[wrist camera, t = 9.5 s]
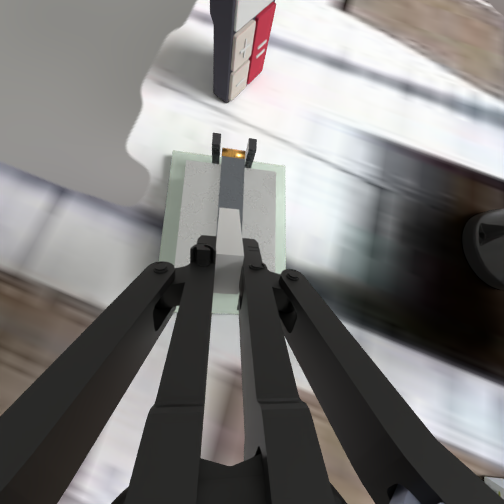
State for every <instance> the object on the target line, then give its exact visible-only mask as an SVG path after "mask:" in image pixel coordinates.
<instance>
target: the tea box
mask: <svg viewBox="0 0 504 504" xmlns="http://www.w3.org/2000/svg"><path fill="white" fill-rule="evenodd" d="M484 482H485V483H486V484H487V485H488V486H489V487H490V488H491V489H492V490H494V491H495V492H496V493H497V494H498V495H499V496H500V497H501V498H503V499H504V479H502V478H493V477H484Z"/></svg>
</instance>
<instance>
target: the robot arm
mask: <svg viewBox="0 0 504 504" xmlns="http://www.w3.org/2000/svg"><path fill="white" fill-rule="evenodd" d="M462 243H463V249H464V253H465V256H466V259H467V261H468V263H469V265H470V266H471V268H472V269H473V271H474V272H475V273H476V275H477V276H478V277H479V278H480V279H481V280H483V281H484V282H485V283H487V284H488V285H490V286H492V287H494V288H496V289H500V290H504V209H495V210H490V211H487V212H484V213H480V214H477V215H475V216H473V217H472V218H470V219H469V220H468V222H467V223H466V225H465V227H464V230H463V235H462ZM213 293H220V294H238V293H239V299H238V305H237V310H239V327H240V347H241V368H242V388H243V408H244V429H245V444H244V461H243V462H241V463H238V464H236V465H234V466H226V465H222V464H219V463H215V462H212V461H208V460H205V459H201V458H200V456H201V443H202V430H203V417H204V405H205V392H206V379H207V367H208V354H209V341H210V328H211V316H212V303H213ZM176 306H179V309H178V313H177V317H176V321H175V325H174V329H173V333H172V337H171V341H170V345H169V350H168V354H167V358H166V362H165V366H164V370H163V374H162V378H161V382H160V386H159V390H158V394H157V398H156V401H155V404H154V405H153V406H152V407H151V409H150V411H149V413H148V417H147V420H146V423H145V427H144V431H143V434H142V438H141V442H140V446H139V450H138V453H137V457H136V461H135V465H134V469H133V472H132V476H131V480H130V484H129V487H127V488H126V489H125V490H124V491H123V492H122V493H121V494H120V495H119V496H118V497H117V498H116V499H115V500H114V501H113V502H112V503H111V504H347V503H346V502H345V500H344V499H343V498H342V496H341V495H340V494H339V493H338V491H337V490H336V489H335V488H334V487H333V485H332V484H331V483H330V482H329V478H328V475H327V471H326V467H325V464H324V460H323V456H322V453H321V449H320V445H319V441H318V438H317V434H316V430H315V427H314V423H313V419H312V416H311V413H310V410H309V408H308V406H307V404H306V403H305V402H303V401H301V399H300V398H299V395H298V391H297V387H296V383H295V379H294V375H293V370H292V366H291V362H290V358H289V354H288V350H287V346H286V342H285V338H286V340H287V342H288V344H289V345H290V347H291V349H292V351H293V353H294V355H295V357H296V359H297V361H298V363H299V365H300V367H301V368H302V370H303V372H304V374H305V376H306V378H307V380H308V382H309V384H310V386H311V388H312V390H313V391H314V393H315V395H316V397H317V399H318V401H319V403H320V405H321V407H322V409H323V411H324V413H325V414H326V416H327V418H328V420H329V422H330V424H331V426H332V428H333V430H334V432H335V434H336V436H337V437H338V439H339V441H340V443H341V445H342V447H343V449H344V451H345V453H346V455H347V457H348V459H349V460H350V462H351V464H352V466H353V468H354V470H355V471H356V473H357V475H358V477H359V478H360V480H361V482H362V484H363V485H364V487H365V488H366V490H367V491H368V493H369V495H370V496H371V498H372V499H373V501H374V502H375V504H504V499H503V498H501V497H500V496H499V495H498V494H497V493H496V492H495V491H494V490H492V489H491V488H490V487H489V486H488V485H487V484H486V483H485V482H483V481H482V480H481V479H480V478H479V477H478V476H477V475H476V474H474V473H473V472H472V471H471V470H470V469H469V468H468V467H467V466H465V465H464V464H463V463H462V462H461V461H460V460H459V459H458V458H456V457H455V456H454V455H453V454H452V453H451V452H450V451H449V450H447V449H446V448H445V447H444V446H443V445H442V444H441V443H440V442H438V441H437V440H436V439H435V437H434V436H433V435H432V434H431V432H430V431H429V430H428V429H427V427H426V426H425V425H424V424H423V423H422V421H421V420H420V419H419V418H418V416H417V415H416V414H415V413H414V411H413V410H412V409H411V408H410V406H409V405H408V404H407V403H406V402H405V400H404V399H403V398H402V397H401V395H400V394H399V393H398V392H397V390H396V389H395V388H394V387H393V385H392V384H391V383H390V382H389V381H388V379H387V378H386V377H385V376H384V374H383V373H382V372H381V371H380V369H379V368H378V367H377V366H376V364H375V363H374V362H373V361H372V360H371V358H370V357H369V356H368V355H367V353H366V352H365V351H364V350H363V348H362V347H361V346H360V345H359V343H358V342H357V341H356V340H355V339H354V337H353V336H352V335H351V334H350V332H349V331H348V330H347V329H346V327H345V326H344V325H343V324H342V322H341V321H340V320H339V319H338V318H337V316H336V315H335V314H334V313H333V311H332V310H331V309H330V308H329V306H328V305H327V304H326V303H325V301H324V300H323V299H322V298H321V297H320V295H319V294H318V293H317V292H316V290H315V289H314V288H313V287H312V285H311V284H310V283H309V282H308V280H307V279H306V278H305V277H304V276H303V275H302V274H301V273H300V272H298V271H296V270H293V269H286V270H283V271H282V272H281V274H278V273H274V272H271V271H269V270H268V269H267V266H266V264H264V263H263V262H262V257H261V253H260V249H259V244H258V242H257V241H256V240H255V239H249V238H242V232H241V223H240V214H239V209H229V208H219V219H218V230H217V236H208V235H201V236H200V237H199V238H198V240H197V244H196V245H194V246H192V247H191V248H190V264H188V265H187V266H184V267H179V268H175V267H174V265H173V264H172V263H169V262H164V261H160V262H155V263H152V264H150V265H149V266H148V267H147V268H146V269H145V270H144V271H143V272H142V273H141V274H140V275H139V276H138V277H137V278H136V279H135V280H134V281H133V282H132V283H131V284H130V285H129V286H128V287H127V288H126V289H125V290H124V291H123V292H122V293H121V294H120V295H119V296H118V297H117V298H116V299H115V300H114V301H113V302H112V303H111V304H110V305H109V306H108V307H107V309H106V310H105V311H104V312H103V313H102V314H101V315H100V316H99V317H98V318H97V319H96V320H95V321H94V322H93V323H92V324H91V325H90V326H89V327H88V328H87V329H86V330H85V331H84V332H83V333H82V334H81V335H80V336H79V337H78V338H77V339H76V340H75V341H74V342H73V343H72V344H71V345H70V346H69V347H68V348H67V349H66V350H65V351H64V352H63V353H62V354H61V355H60V356H59V357H58V358H57V359H56V360H55V361H54V362H53V364H52V365H51V366H50V367H49V368H48V369H47V370H46V371H45V372H44V373H43V374H42V375H41V376H40V377H39V378H38V379H37V380H36V381H35V382H34V383H33V384H32V385H31V386H30V387H29V388H28V389H27V390H26V391H25V392H24V393H23V394H22V395H21V396H20V397H19V398H18V399H17V400H16V401H15V402H14V403H13V404H12V405H11V406H10V407H9V408H8V409H7V410H6V411H5V412H4V413H3V414H2V415H1V416H0V504H57V503H58V501H59V500H60V498H61V497H62V495H63V493H64V492H65V490H66V489H67V487H68V486H69V484H70V482H71V481H72V479H73V477H74V476H75V474H76V473H77V471H78V469H79V468H80V466H81V464H82V463H83V461H84V459H85V458H86V456H87V454H88V453H89V451H90V449H91V448H92V446H93V445H94V443H95V441H96V440H97V438H98V436H99V435H100V433H101V431H102V430H103V428H104V426H105V425H106V423H107V421H108V420H109V418H110V417H111V415H112V413H113V412H114V410H115V408H116V407H117V405H118V403H119V402H120V400H121V398H122V397H123V395H124V394H125V392H126V390H127V389H128V387H129V385H130V384H131V382H132V380H133V379H134V377H135V375H136V374H137V372H138V370H139V369H140V367H141V366H142V364H143V362H144V361H145V359H146V357H147V356H148V354H149V352H150V351H151V349H152V347H153V346H154V344H155V343H156V341H157V339H158V338H159V336H160V334H161V333H162V331H163V329H164V328H165V326H166V324H167V323H168V321H169V319H170V318H171V316H172V315H173V313H174V311H175V310H176ZM284 336H285V338H284Z"/></svg>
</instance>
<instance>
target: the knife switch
mask: <svg viewBox="0 0 504 504" xmlns="http://www.w3.org/2000/svg"><path fill="white" fill-rule="evenodd" d="M220 143H221V134H219V133H213V139H212V163H206V162H198V161H190V160H186V167H185V176H184V185H183V194H182V203H181V212H180V221H179V230H178V239H177V248H176V257H175V266H174V267H175V268H179V267H184V266H187V265H188V264H190V248H191V247H192V246H194V245H196V244H197V240H198V238H199V237H200V236H201V235H208V236H216V232H217V218H218V204H219V190H220V176H221V164H219V162H220ZM256 143H257V139H251V138H249V141H248V145H247V149H246V154H245V170H244V196H243V221H242V238H249V239H255V240H256V241H257V242H258V244H259V249H260V253H261V257H262V262H263V263H264V264H266V266H267V269H268V270H269V271H271V272H274V273H275V238H276V172H274V171H267V170H259V169H251V167H252V163H253V160H254V156H255V153H256Z"/></svg>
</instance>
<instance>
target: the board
mask: <svg viewBox="0 0 504 504" xmlns="http://www.w3.org/2000/svg"><path fill="white" fill-rule="evenodd" d="M186 160H190V161H198V162H206V163H212V156H210V155H203V154H195V153H188V152H181V151H173V152H172V160H171V168H170V176H169V184H168V191H167V199H166V207H165V215H164V223H163V230H162V238H161V246H160V254H159V262H160V261H164V262H169V263H172V264H173V265H174V266H175V257H176V248H177V239H178V230H179V221H180V212H181V203H182V194H183V185H184V176H185V167H186ZM221 161H222V157H220V162H219V164H221ZM251 169H259V170H267V171H274V172H276V238H275V273H278V274H281V272H282V271H283V270H286V234H285V166H283V165H276V164H268V163H261V162H254V161H253V163H252V167H251ZM238 299H239V293H238V294H220V293H213V303H212V314H239V310H237V305H238ZM178 309H179V306H176V310H175V311H174V313H178Z"/></svg>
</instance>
